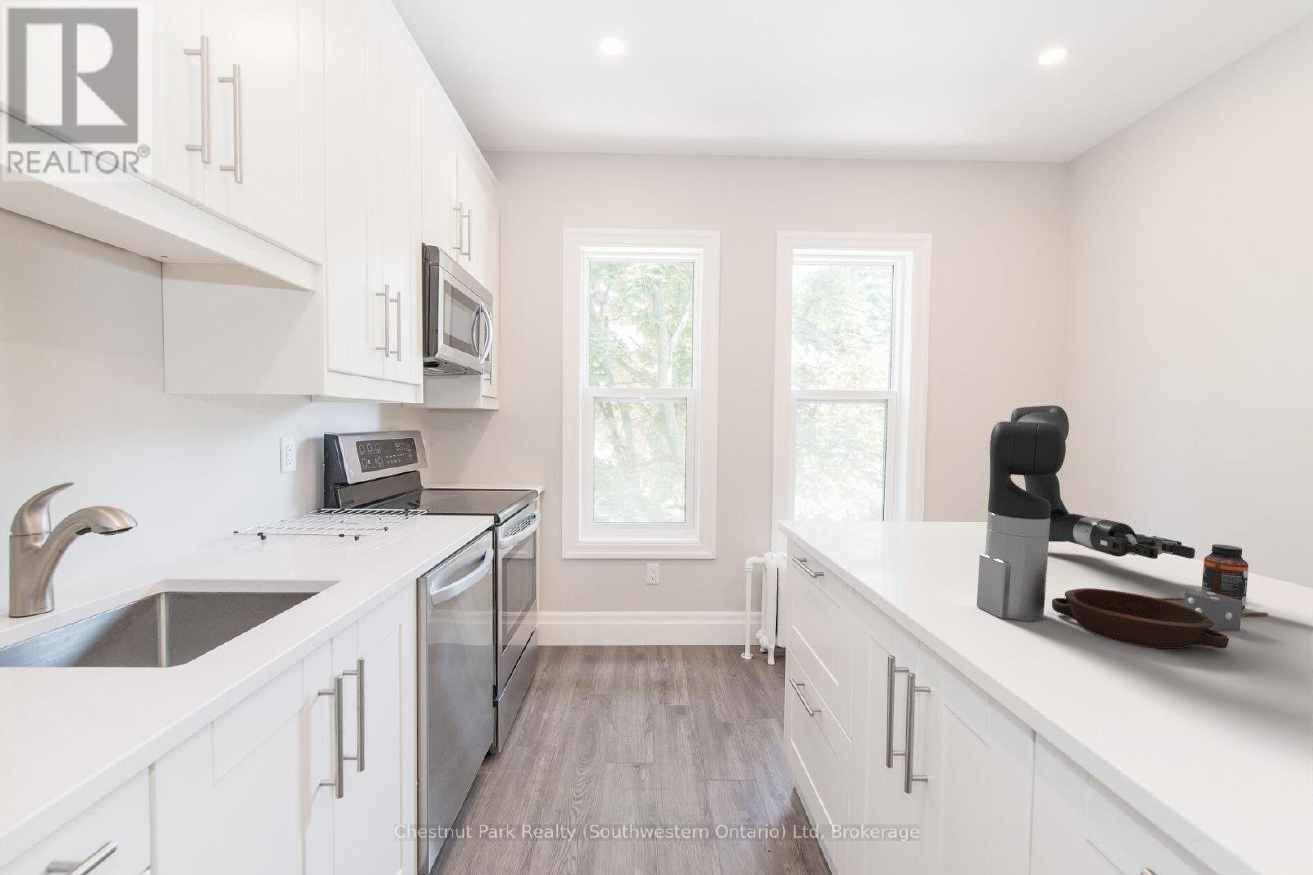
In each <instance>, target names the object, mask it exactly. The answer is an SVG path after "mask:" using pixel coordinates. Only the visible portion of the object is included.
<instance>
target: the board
mask: <svg viewBox="0 0 1313 875" xmlns="http://www.w3.org/2000/svg"><path fill="white" fill-rule="evenodd" d="M1157 598H1158V599H1162V600H1166V601H1170V602H1173V603H1176V604H1180V605H1182V606H1184V597H1157ZM1268 616H1269V613H1268V612H1266V611H1263V612H1262V611H1261V612H1260V611H1256V610H1253V609H1250V608H1246V607H1245V609H1244V610H1242V611H1241V618H1242V617H1268Z"/></svg>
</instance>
